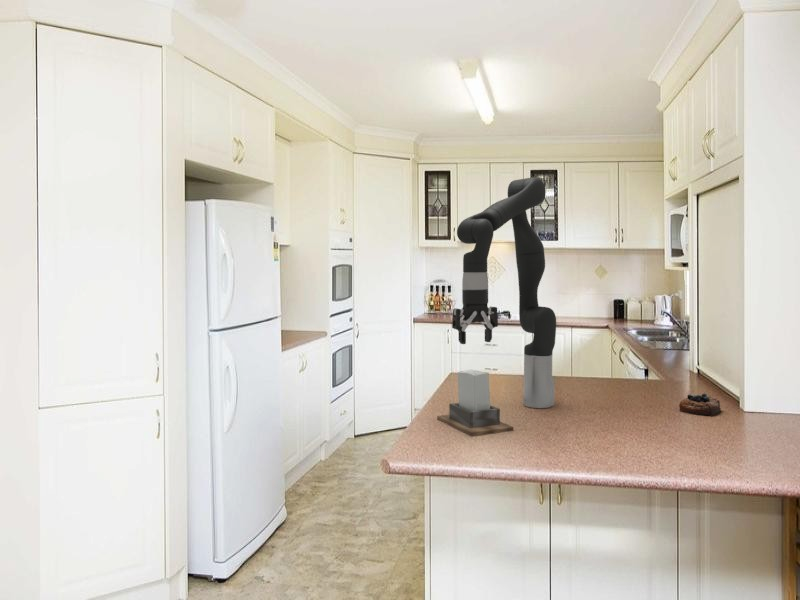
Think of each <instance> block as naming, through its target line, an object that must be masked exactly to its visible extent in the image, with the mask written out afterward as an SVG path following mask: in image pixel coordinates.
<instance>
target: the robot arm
mask: <svg viewBox="0 0 800 600" xmlns="http://www.w3.org/2000/svg"><path fill="white" fill-rule="evenodd" d="M546 192H547V190H546V185H545V184H544V181H543V180H542V179H540V178H539V177H527V178H521V179H515V180H512V181H510V182H509V183H508V187H507V197H506V198H503V199H500V200H498V201H496V202H495V203H492V204H490V206H488V207H487V208H485V209H484V210H483V211H481V212H479V213H476V214H473V215H471V216H469V217H466V218H465V219H463V220H462V221H461V222H460V223H459V224H458V227H457V229H456V235H457V236H456V237H457V238H458V240H459V241H460V242H462V243H463V244H467V245H469V244H472V245H474V244H475V245H474V247H473V250H471V251H468V252H466V253H464V254H463V256H462V257H463V258H462V259H463V260H462V261H463V262H462V281H461V282H462V284H461V286H462V287H461V288H462V289H461V293H462V295H461V296H462V297H461V298H462V308H453V309H452V323H451V327H452V329H453V330H456V331H458V342H459V343H460V344H461V345H466V344H467V342H466V341H467V339H466V338H467V336H466V335H467V331H466V329H467V328H468V326H470V325H471V324H472V323H473V324H475V323H481V324H482V326H483V327H484V328H485V329H484V342H486V343H491V342H492V339H493V329H494V328H497V327H498V326H499V319H498V307H497V306H490V307H488V303H489V277H488V257H489V255H490V254H489V253H490V248H491V245H492V242H493V238H494V232H495V231H497V230H499V229H500V228H502V227H503V226H504V225H506V223H508V222H509V221H511V222H512V227H513V228H512V229H513V237H514V246H515V247H514V248H515V260H516V261H515V262H516V267H517V269H516V270H517V277H518V278H517V279H518V291H519V292H518V293H519V294H518V296H519V298H518V300H519V303H518V304H519V305H518V306H519V308H518V309H519V310H518V312H519V313H518V315H519V316H518V317H519V324H520V327H521V328H522V330H523V331H524V332H526V333H528V334H533V338H532V341H531V342H530V343H527V344H526V345H524V347H523V348H524V349H523V351H524V352H523V406H524V407H525V406H526V407H528V408H533V409H546V408H547V409H548V408H551V407H554V406H555V379H556V378H555V377H554V376H553V353H554V352H553V351H554V348H555V344H556V336H557V335H556V334H557V316H556V313H555V312H554V310H553V309H552V308H550V307H547V306H539V300H538V290H539V287H540V283H541V281H542V277H543V275H544V273H545V269H546V258H545V257H546V256H545V248H544V244H543V242H542V240H541V239H540V237H539V236H538V234H537V233H536V231H535V230H534V229H533V228H532V226H531V224H530V222H529V219H528V214H527V210H529V209H532V208H534V207H536V206H540V205H541V204H542V203H543V202H544V200H545V198H546V194H547V193H546ZM488 314H489V317H488V316H487V315H488ZM461 316H463V317H462V319H461Z"/></svg>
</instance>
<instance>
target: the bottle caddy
mask: <svg viewBox="0 0 800 600" xmlns="http://www.w3.org/2000/svg"><path fill="white" fill-rule="evenodd" d="M448 406H449V407H448V412H449V414H442V415H437V417H436V419H437V420H438V421H440V422H441V423H444V424H446V425H447V426H450V427H452V428H454V429H456V430H458V431H460V432H462V433H464V434H466V435H468V436H469V437H476V436H483V435H492V434H497V433H498V434H499V433H506V432H511V431H512V432H513V431H514V426H512V425H510V424H507V423H505V422H503V421H501V420H500V419H501V416H500V415H501V409H500V408H498V407H496V406H493V405H491V404H490V409H488V410H479V411H469V410H467V409H464V408H462V407H460V406H459V402H452V403H451V402H450V403H449V404H448Z"/></svg>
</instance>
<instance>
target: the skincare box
mask: <svg viewBox="0 0 800 600" xmlns="http://www.w3.org/2000/svg"><path fill="white" fill-rule="evenodd" d="M457 385H458V386H457V389H458V391H457V393H458V403H459V406H460V407H462V408H464V409H467V410H469V411H479V410H488V409H490V405H491V397H490V396H491V395H490V393H491V392H490V373H489V372H488V371H482V370H481V371H480V370H476V369H467V370H461V371H457Z"/></svg>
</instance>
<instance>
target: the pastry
mask: <svg viewBox="0 0 800 600" xmlns="http://www.w3.org/2000/svg"><path fill="white" fill-rule="evenodd" d="M686 396H687V397H686V398H683V399H681V400H680V403H679V406H678V407H679V412H681V413H683V414H684V413H685V414H688V415H694V416H695V415H696V416H702V417H703V416H704V417H714V416H716V415H718V414H720V413H722V410H721V403H720V400H719V399H718V398H716V397H712V396H710V395H707V393H702V394H701V395H700V394H690V393H689V394H688V395H686Z"/></svg>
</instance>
